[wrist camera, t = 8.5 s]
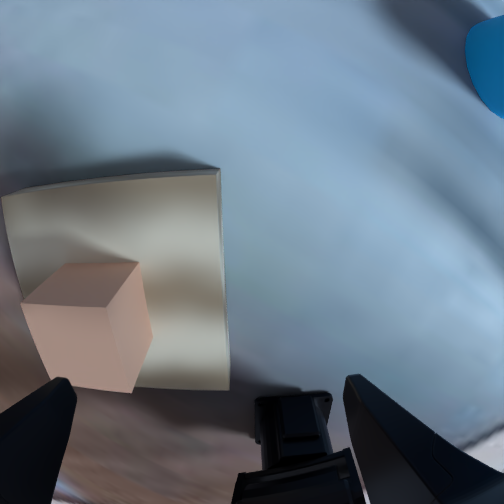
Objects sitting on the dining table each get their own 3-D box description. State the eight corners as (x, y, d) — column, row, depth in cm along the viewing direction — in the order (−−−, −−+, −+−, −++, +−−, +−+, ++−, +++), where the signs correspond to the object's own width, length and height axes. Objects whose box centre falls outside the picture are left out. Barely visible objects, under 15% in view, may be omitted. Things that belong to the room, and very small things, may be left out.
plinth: (230, 362, 23) (229, 390, 20) (67, 353, 23) (53, 375, 20) (220, 168, 18) (215, 174, 15) (26, 187, 18) (0, 196, 15)
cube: (153, 337, 19) (131, 393, 14) (84, 333, 19) (52, 381, 14) (139, 262, 17) (106, 307, 12) (64, 263, 17) (20, 303, 12)
